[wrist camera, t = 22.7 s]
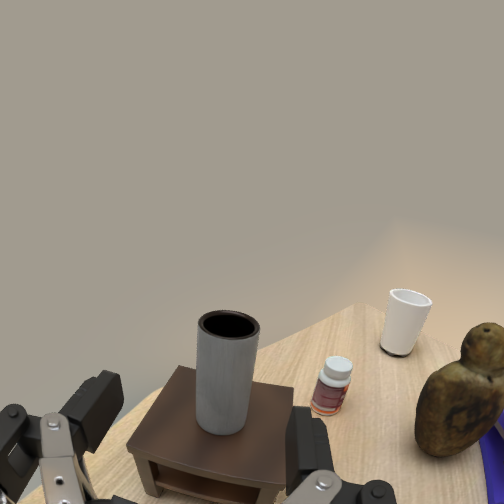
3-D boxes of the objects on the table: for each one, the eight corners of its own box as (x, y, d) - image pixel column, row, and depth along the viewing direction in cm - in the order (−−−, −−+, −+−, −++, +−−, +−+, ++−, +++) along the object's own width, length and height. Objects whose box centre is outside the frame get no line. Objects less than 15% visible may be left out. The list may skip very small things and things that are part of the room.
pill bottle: (340, 417, 36) (358, 374, 34) (309, 414, 37) (323, 371, 35) (338, 397, 41) (353, 355, 39) (310, 395, 41) (322, 352, 39)
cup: (372, 336, 62) (386, 285, 59) (409, 341, 60) (424, 292, 57) (377, 358, 52) (395, 301, 49) (418, 363, 50) (438, 308, 47)
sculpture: (468, 439, 27) (529, 325, 22) (466, 477, 20) (548, 353, 15) (398, 421, 34) (449, 303, 29) (386, 458, 27) (453, 328, 23)
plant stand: (142, 494, 20) (125, 444, 18) (180, 421, 33) (178, 364, 30) (266, 525, 19) (286, 484, 16) (278, 442, 31) (293, 387, 29)
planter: (237, 400, 26) (249, 308, 24) (252, 432, 22) (269, 336, 19) (192, 404, 24) (193, 309, 22) (200, 438, 20) (203, 340, 18)
